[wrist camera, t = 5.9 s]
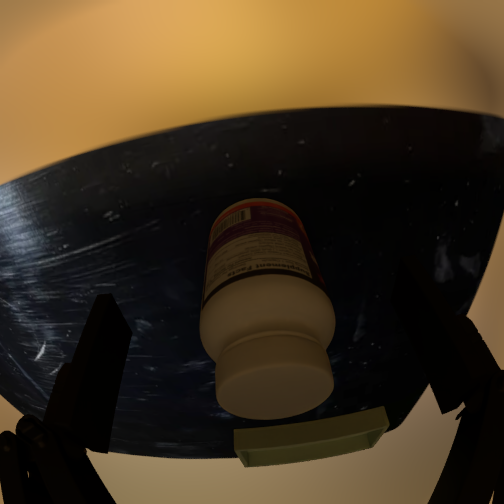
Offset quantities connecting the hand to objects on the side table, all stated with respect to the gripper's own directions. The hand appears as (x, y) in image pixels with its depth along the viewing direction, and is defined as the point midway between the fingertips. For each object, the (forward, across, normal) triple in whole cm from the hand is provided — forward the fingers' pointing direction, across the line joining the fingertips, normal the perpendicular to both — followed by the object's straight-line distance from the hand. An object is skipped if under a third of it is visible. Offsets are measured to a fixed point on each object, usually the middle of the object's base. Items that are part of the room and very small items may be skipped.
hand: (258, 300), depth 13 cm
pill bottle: (+5, 0, 0) cm, 5 cm away
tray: (+5, +4, -32) cm, 33 cm away
